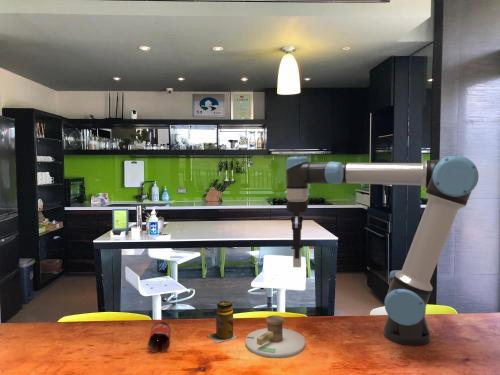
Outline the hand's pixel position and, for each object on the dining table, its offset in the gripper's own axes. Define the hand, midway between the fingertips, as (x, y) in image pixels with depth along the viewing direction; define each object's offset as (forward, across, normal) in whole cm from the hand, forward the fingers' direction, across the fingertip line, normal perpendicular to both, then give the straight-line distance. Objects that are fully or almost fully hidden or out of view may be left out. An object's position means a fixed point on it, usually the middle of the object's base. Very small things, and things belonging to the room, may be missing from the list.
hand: (297, 266), depth 139 cm
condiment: (+25, +6, -26) cm, 36 cm away
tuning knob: (+23, +12, -8) cm, 27 cm away
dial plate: (+24, +9, -7) cm, 27 cm away
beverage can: (+25, +16, -45) cm, 54 cm away
